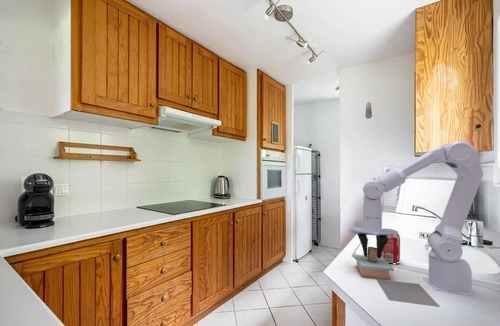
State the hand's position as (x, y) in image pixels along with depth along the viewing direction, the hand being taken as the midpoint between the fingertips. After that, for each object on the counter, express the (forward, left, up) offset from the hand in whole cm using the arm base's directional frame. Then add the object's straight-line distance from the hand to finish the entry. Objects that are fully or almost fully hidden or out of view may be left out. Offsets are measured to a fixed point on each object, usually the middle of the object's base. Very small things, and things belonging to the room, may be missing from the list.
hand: (371, 256), depth 80 cm
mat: (-6, +11, -6) cm, 14 cm away
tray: (0, 0, -6) cm, 6 cm away
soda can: (-9, -12, -6) cm, 16 cm away
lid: (0, 0, -2) cm, 2 cm away
